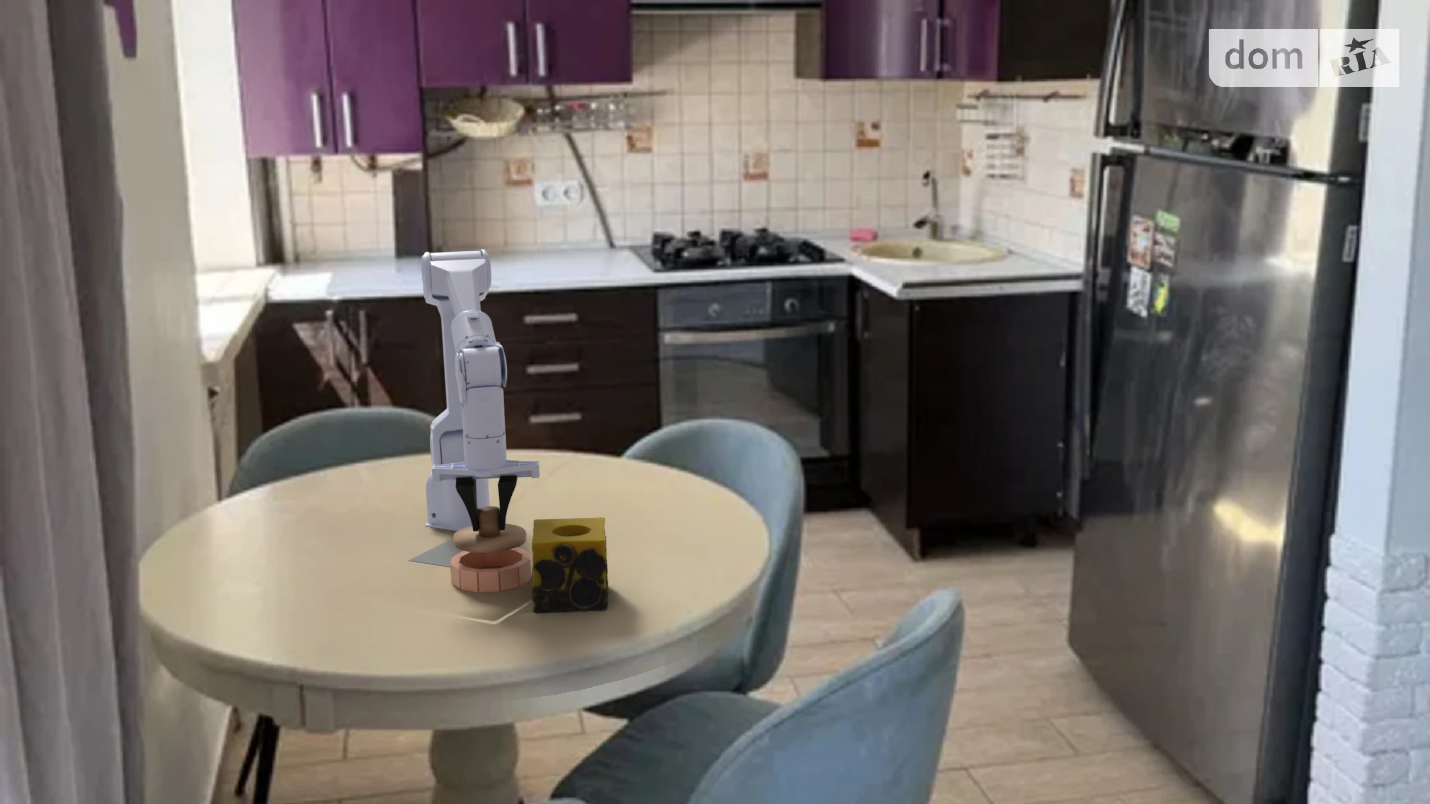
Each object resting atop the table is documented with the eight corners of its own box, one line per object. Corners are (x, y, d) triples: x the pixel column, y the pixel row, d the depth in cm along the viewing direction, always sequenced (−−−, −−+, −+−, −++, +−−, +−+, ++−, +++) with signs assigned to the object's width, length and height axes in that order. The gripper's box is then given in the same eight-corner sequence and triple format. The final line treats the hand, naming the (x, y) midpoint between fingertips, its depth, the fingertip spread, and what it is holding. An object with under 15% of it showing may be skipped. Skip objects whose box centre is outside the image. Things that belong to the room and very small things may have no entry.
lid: (439, 548, 188) (437, 515, 187) (477, 526, 197) (476, 496, 196) (503, 556, 185) (501, 523, 184) (539, 534, 194) (537, 503, 193)
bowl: (436, 587, 190) (434, 565, 189) (481, 563, 200) (480, 542, 199) (503, 598, 185) (502, 576, 185) (546, 573, 195) (545, 551, 194)
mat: (408, 562, 200) (408, 560, 200) (449, 542, 209) (448, 540, 209) (465, 571, 196) (465, 569, 196) (504, 550, 205) (504, 548, 205)
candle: (535, 588, 189) (531, 518, 187) (608, 584, 190) (606, 515, 188) (531, 615, 180) (528, 542, 177) (609, 611, 180) (606, 539, 178)
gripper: (427, 442, 183) (433, 539, 186) (536, 438, 184) (540, 535, 187) (433, 430, 190) (438, 524, 193) (538, 426, 191) (542, 519, 194)
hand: (489, 528), depth 191 cm, fingers closed on lid, 3 cm apart
